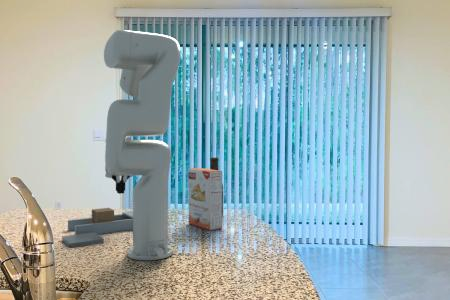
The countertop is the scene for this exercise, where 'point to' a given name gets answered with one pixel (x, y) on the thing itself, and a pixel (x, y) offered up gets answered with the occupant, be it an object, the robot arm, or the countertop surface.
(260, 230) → the countertop surface
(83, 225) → the channel
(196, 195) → the cracker box
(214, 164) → the beer bottle
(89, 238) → the coaster
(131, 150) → the robot arm
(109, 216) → the block
